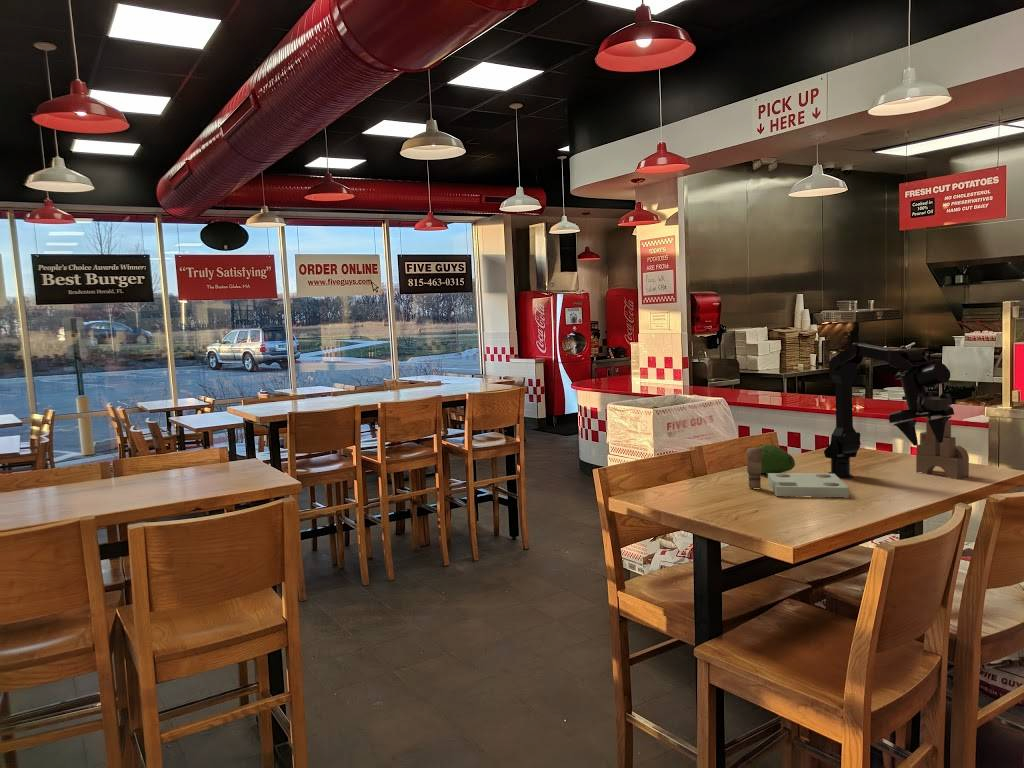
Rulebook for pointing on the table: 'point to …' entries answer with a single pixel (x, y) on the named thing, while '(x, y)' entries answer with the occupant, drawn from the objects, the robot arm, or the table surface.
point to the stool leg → (754, 467)
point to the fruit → (775, 459)
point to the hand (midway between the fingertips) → (928, 444)
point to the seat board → (807, 485)
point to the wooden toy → (941, 453)
